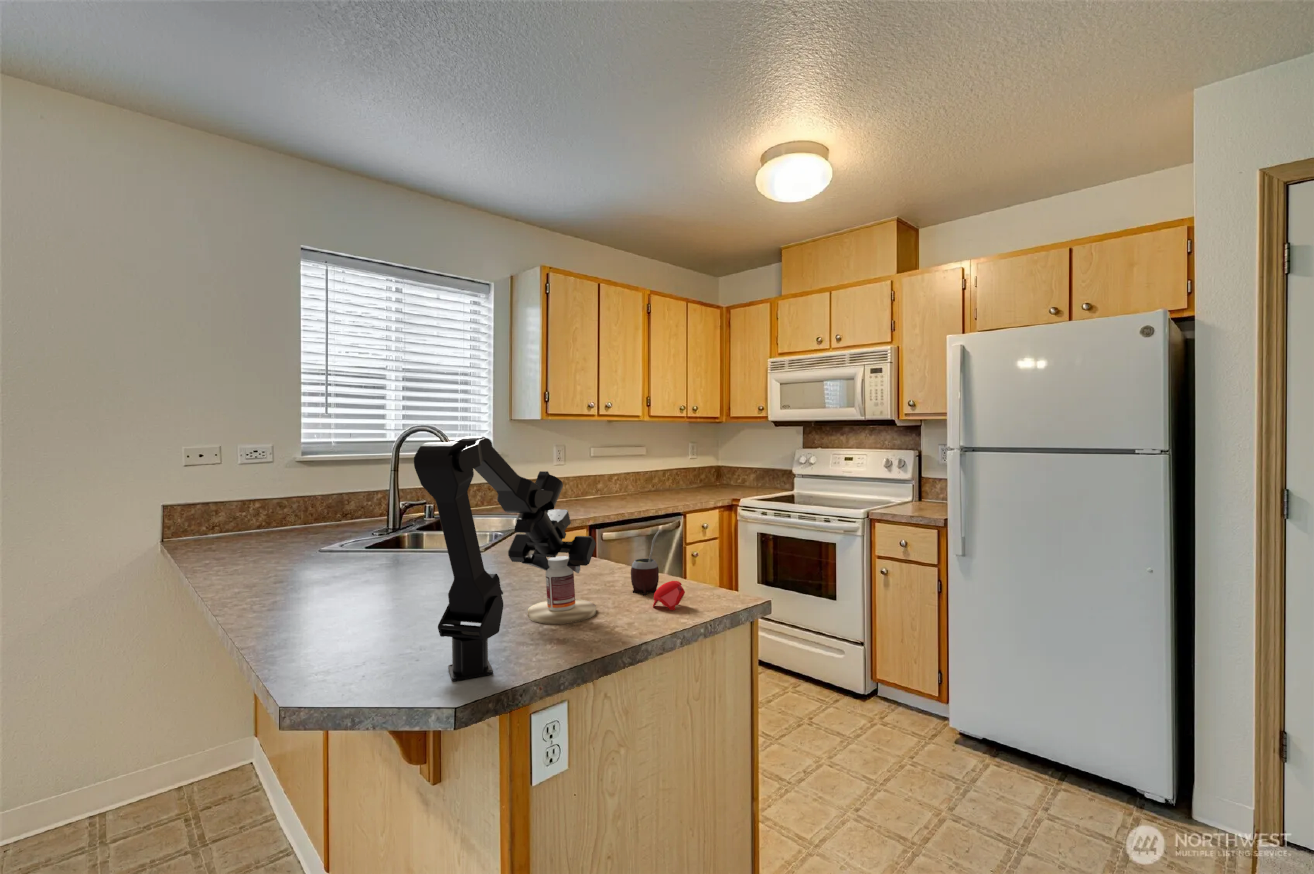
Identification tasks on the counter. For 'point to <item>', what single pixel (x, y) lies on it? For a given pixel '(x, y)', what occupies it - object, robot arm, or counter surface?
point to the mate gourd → (645, 574)
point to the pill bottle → (560, 584)
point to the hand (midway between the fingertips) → (564, 570)
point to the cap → (669, 594)
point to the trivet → (562, 613)
